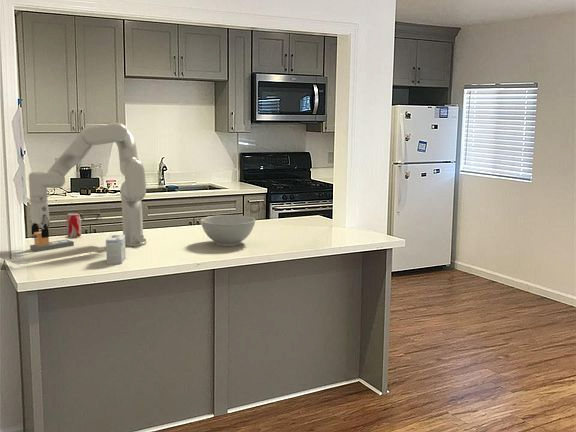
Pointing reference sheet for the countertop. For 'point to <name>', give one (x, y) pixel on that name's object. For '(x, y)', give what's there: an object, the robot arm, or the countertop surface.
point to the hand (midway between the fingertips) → (40, 235)
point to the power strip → (52, 245)
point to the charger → (40, 239)
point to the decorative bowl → (228, 228)
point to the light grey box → (115, 249)
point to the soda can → (73, 225)
